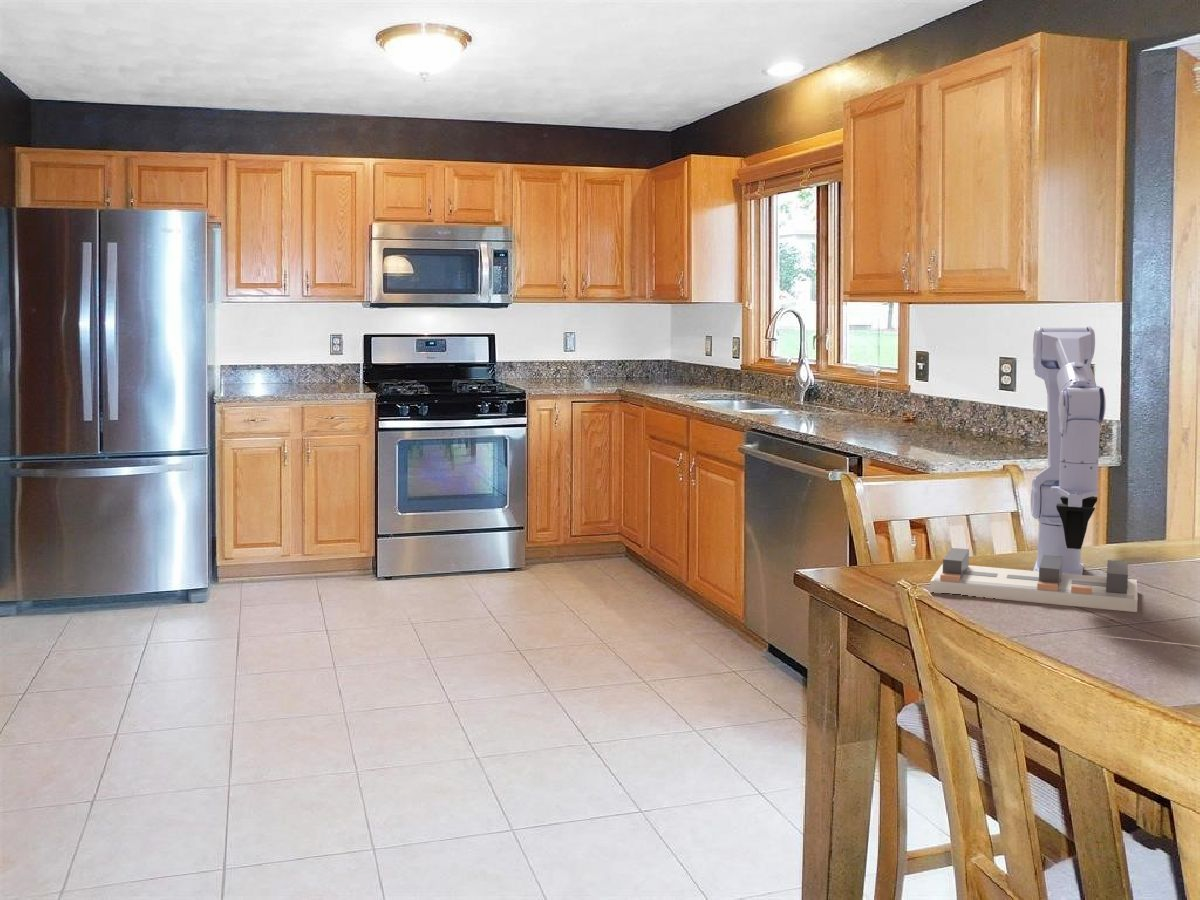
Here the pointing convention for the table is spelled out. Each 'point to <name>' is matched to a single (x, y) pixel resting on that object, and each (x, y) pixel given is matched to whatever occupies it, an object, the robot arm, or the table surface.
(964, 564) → the slider
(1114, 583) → the slider
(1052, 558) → the slider middle
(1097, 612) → the table surface
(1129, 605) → the switch panel
